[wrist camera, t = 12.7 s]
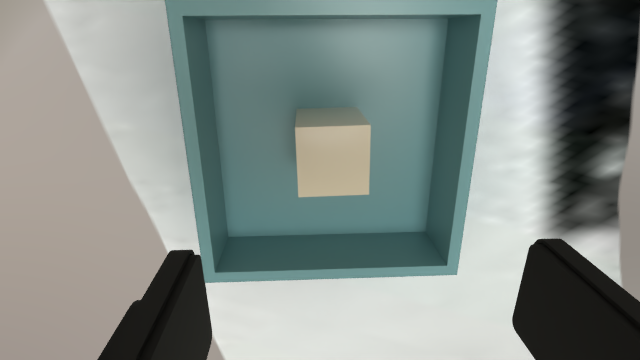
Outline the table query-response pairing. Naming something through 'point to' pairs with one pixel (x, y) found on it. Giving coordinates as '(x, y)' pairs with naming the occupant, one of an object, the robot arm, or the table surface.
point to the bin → (329, 92)
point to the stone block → (332, 152)
